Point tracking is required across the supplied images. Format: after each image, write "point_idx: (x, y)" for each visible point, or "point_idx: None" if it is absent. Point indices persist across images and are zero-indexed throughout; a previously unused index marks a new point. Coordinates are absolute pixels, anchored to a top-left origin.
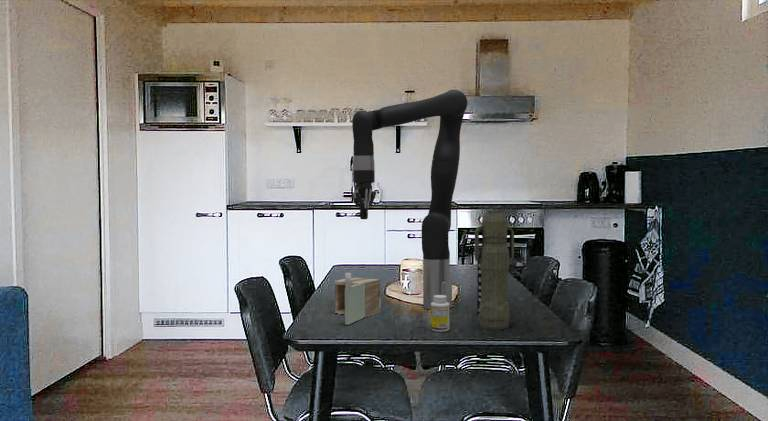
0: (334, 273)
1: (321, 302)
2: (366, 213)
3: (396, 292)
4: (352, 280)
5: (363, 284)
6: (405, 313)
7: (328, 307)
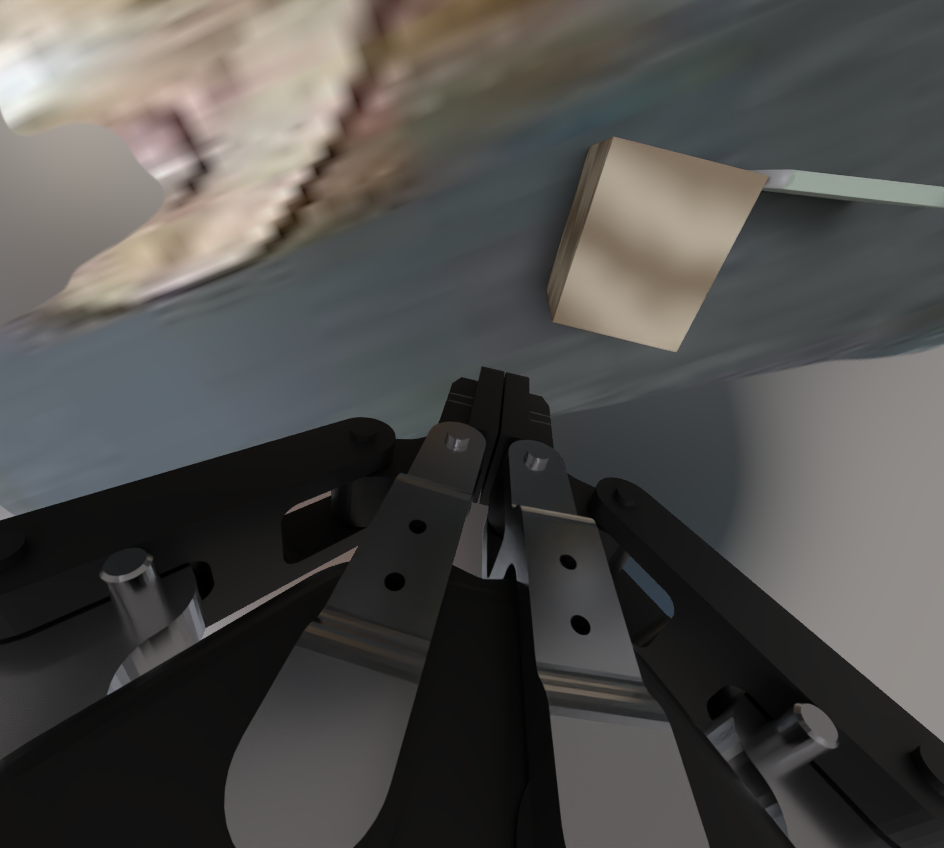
0: None
1: None
2: (506, 399)
3: (198, 228)
4: (652, 280)
5: (801, 171)
6: (599, 6)
7: (539, 365)
